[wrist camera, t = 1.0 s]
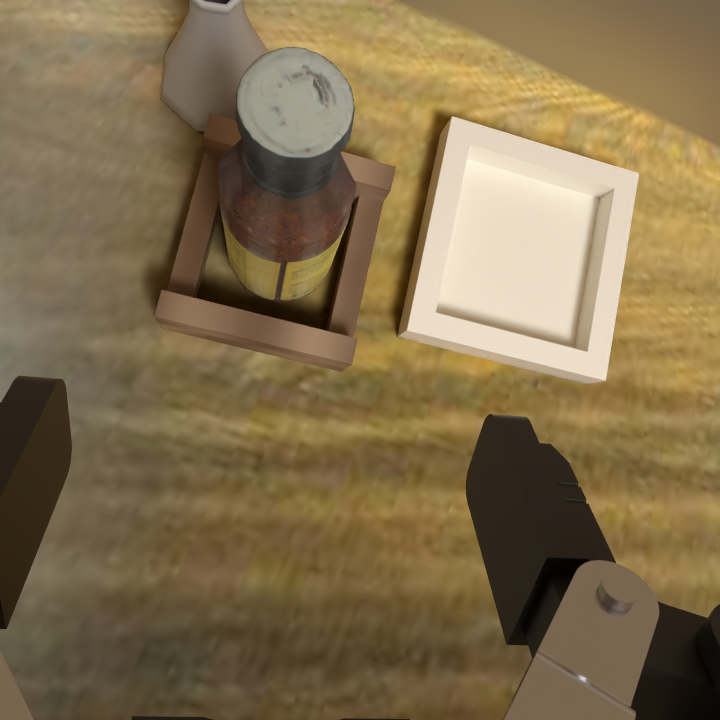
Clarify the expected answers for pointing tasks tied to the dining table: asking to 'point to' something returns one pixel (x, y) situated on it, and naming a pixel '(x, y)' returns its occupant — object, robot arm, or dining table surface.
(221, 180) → the sauce bottle
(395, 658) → the dining table surface
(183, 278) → the holder
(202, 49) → the flask
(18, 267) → the dining table surface
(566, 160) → the tray
